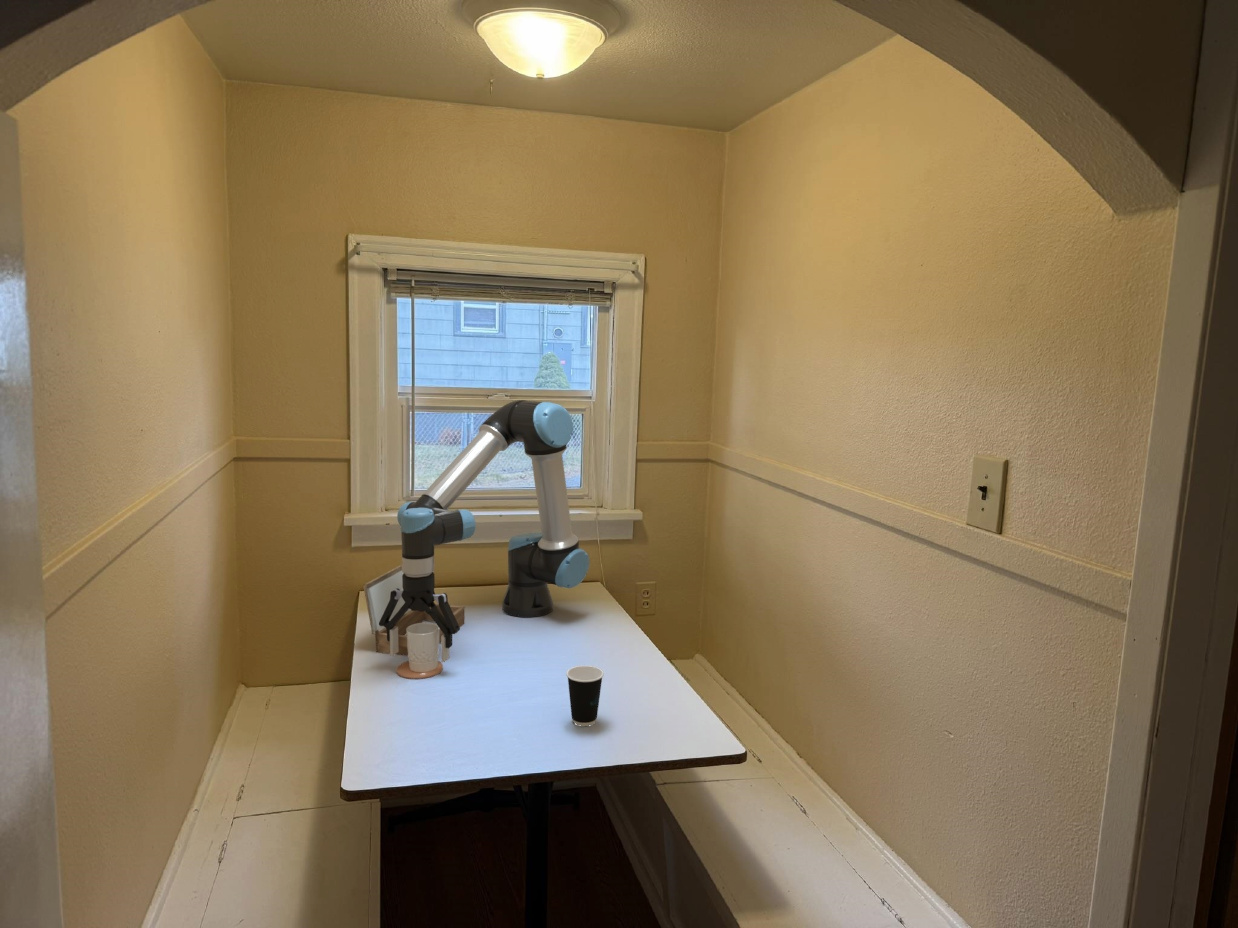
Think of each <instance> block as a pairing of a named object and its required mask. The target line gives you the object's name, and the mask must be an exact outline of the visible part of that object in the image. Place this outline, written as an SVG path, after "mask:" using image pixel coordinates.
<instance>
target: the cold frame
mask: <svg viewBox="0 0 1238 928" xmlns="http://www.w3.org/2000/svg"><path fill="white" fill-rule="evenodd" d="M435 605H436V606H437V609H438V610H439V612H440V613H441V614H442V611H441V609H440V607H439V604H438V603H435ZM449 605H450V604H449ZM429 608H430V609H431V607H429ZM450 608H451V610H452V612H453V614H454V616H455V618H456V620H457V623H458V625H459V627H460V628H461V627H462V626H463V625H465V622H466V621H465V606H459V605H450ZM442 616H443V614H442ZM443 617H444V616H443ZM424 622H431V623H435V621H434V620H433V619H432V618H431V616H430V615H429V614H427V613H426V612H425V611H423V612H420V611H418V610H416V611H409V612H408V613H406V614H404V615H403V616H402V617H401V619H400V620H399V621H398V622H397V623H396V625H395V626H394V627H398V651H399V652H398V653H396V654H395V655H394V656H396V655H397V656H405V657H408V649H407V633H406V629H407V627H409V626H410V625H413V624H417V623H424ZM443 634H444V633H443V632H442V631H441V629H440V631H439V645H441V636H442V635H443ZM374 635H375V636H374V637H375V639H374V640H375V653H379V654H389V655H390V641H387V629H386V627H385V628H383V629H382V630H380V631H379V630H376V631H375V634H374Z"/></svg>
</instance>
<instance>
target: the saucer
mask: <svg viewBox="0 0 1238 928" xmlns="http://www.w3.org/2000/svg"><path fill="white" fill-rule="evenodd" d="M443 670H444V665H443V662H442V661H440V660H438V666H437V668H436V669H434V670H432V671H429V672H414V671H412V670H410V668H409V660H407V661H404V662H402V663H400V664H399V665H397V667H396V674H397V676H399V677H400V678H403V679H408V680H423V679H425V680H426V679H429V678H432V677H435V676H437V675H439V674H441V673H442V672H443Z"/></svg>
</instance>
